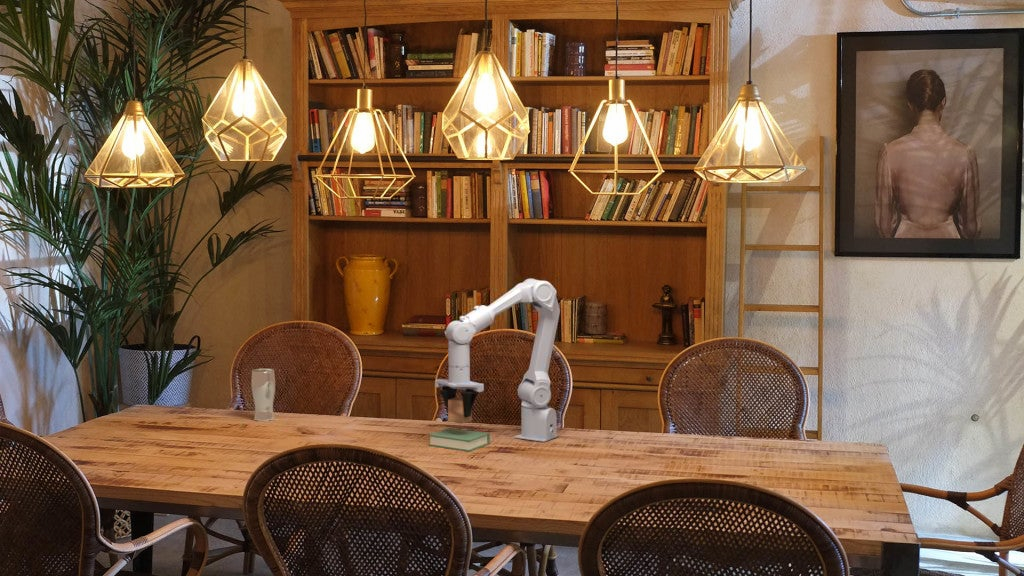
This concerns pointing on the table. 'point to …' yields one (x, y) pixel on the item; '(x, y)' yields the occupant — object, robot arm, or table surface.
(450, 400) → the brown wooden block
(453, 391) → the robot arm
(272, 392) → the beer glass
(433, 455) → the table surface
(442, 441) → the green book
